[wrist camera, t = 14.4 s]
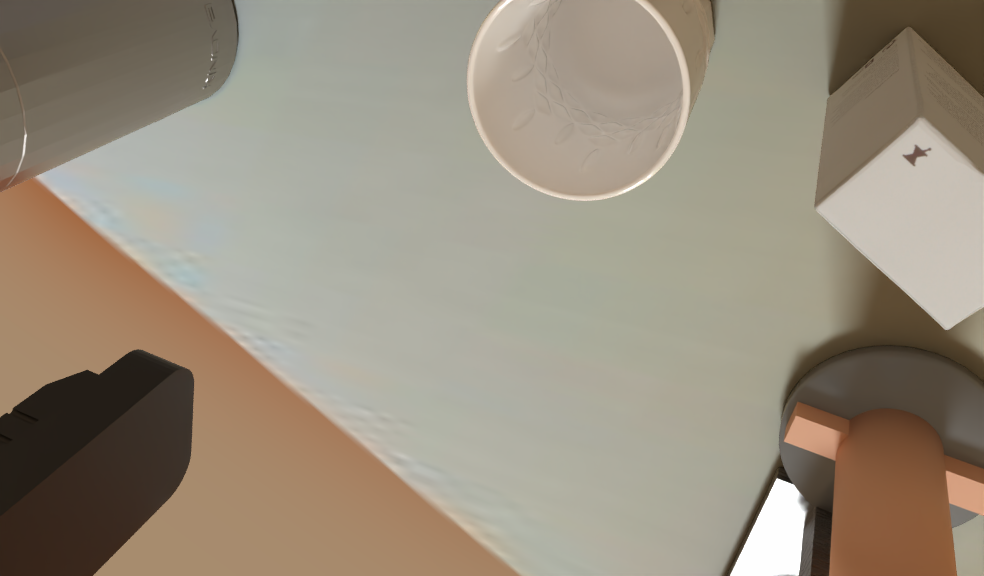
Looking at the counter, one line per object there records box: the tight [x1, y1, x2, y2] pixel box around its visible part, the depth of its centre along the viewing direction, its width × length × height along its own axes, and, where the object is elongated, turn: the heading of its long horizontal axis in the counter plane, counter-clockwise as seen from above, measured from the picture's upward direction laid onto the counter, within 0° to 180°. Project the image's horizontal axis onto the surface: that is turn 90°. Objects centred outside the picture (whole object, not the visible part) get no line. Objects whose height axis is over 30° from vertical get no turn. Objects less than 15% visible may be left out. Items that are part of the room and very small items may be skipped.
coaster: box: [779, 346, 984, 528], centre depth 44 cm, size 10×10×1 cm
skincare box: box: [814, 27, 984, 330], centre depth 32 cm, size 6×4×12 cm
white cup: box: [467, 0, 715, 201], centre depth 36 cm, size 8×8×10 cm
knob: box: [784, 402, 984, 576], centre depth 38 cm, size 5×9×12 cm, turn 78°
